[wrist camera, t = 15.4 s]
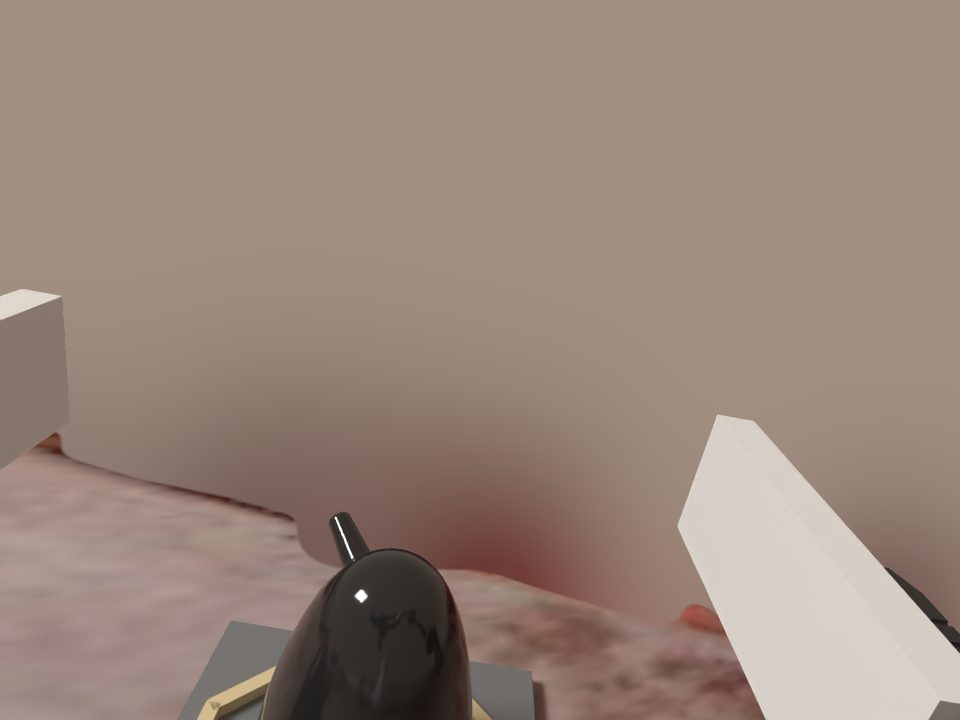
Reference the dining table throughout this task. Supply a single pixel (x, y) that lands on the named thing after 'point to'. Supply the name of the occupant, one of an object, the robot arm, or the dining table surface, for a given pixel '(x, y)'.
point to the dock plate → (255, 654)
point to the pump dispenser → (374, 643)
